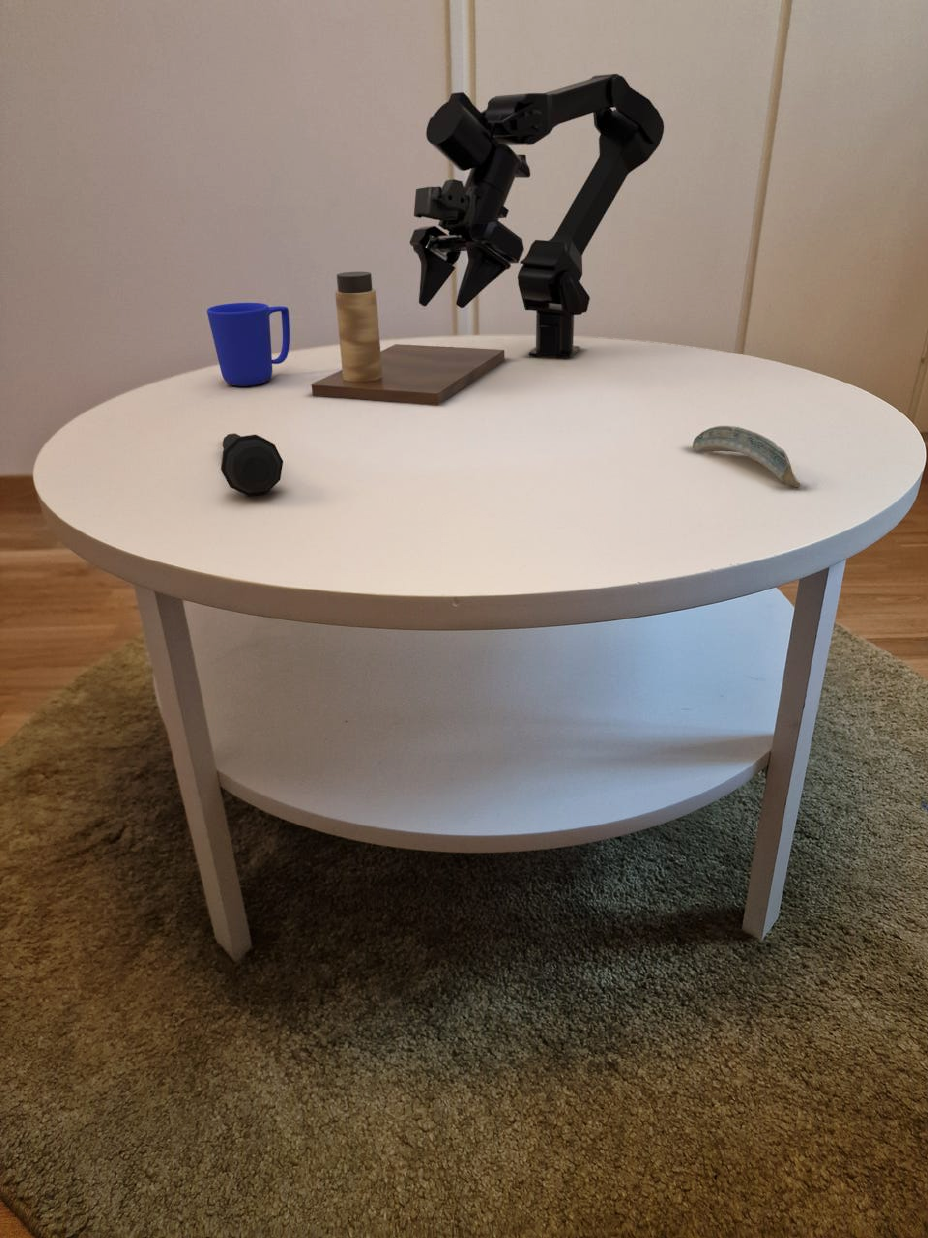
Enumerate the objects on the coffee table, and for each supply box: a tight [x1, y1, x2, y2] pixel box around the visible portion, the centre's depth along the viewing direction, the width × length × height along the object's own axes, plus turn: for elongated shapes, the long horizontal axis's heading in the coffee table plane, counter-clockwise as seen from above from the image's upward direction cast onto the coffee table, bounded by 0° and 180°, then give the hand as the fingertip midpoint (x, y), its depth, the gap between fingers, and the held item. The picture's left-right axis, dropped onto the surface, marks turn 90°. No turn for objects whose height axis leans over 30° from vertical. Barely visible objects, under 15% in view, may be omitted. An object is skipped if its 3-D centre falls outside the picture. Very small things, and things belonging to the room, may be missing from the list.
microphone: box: [220, 433, 284, 497], centre depth 86 cm, size 6×6×20 cm
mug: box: [206, 302, 291, 387], centre depth 119 cm, size 8×12×10 cm
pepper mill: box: [334, 271, 382, 382], centre depth 111 cm, size 5×5×13 cm
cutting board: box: [311, 343, 506, 406], centre depth 120 cm, size 26×18×2 cm
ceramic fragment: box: [691, 425, 802, 488], centre depth 83 cm, size 14×5×4 cm, turn 23°
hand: (440, 305), depth 112 cm, fingers open, 9 cm apart
